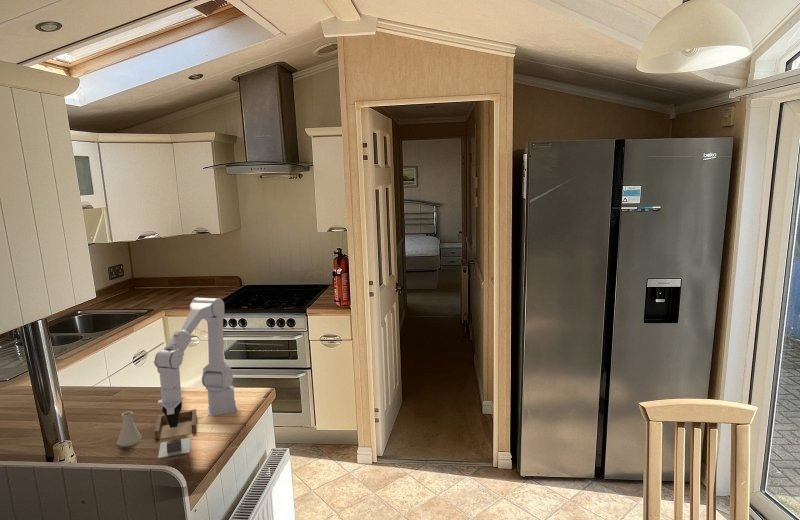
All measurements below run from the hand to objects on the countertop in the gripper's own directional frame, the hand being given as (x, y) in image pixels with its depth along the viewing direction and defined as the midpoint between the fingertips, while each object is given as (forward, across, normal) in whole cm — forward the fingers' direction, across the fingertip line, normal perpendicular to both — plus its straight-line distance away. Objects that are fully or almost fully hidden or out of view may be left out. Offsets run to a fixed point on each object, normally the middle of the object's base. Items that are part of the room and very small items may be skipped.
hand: (173, 426), depth 159 cm
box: (+6, -11, 0) cm, 13 cm away
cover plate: (+7, +3, 0) cm, 7 cm away
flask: (+6, -7, -14) cm, 17 cm away
